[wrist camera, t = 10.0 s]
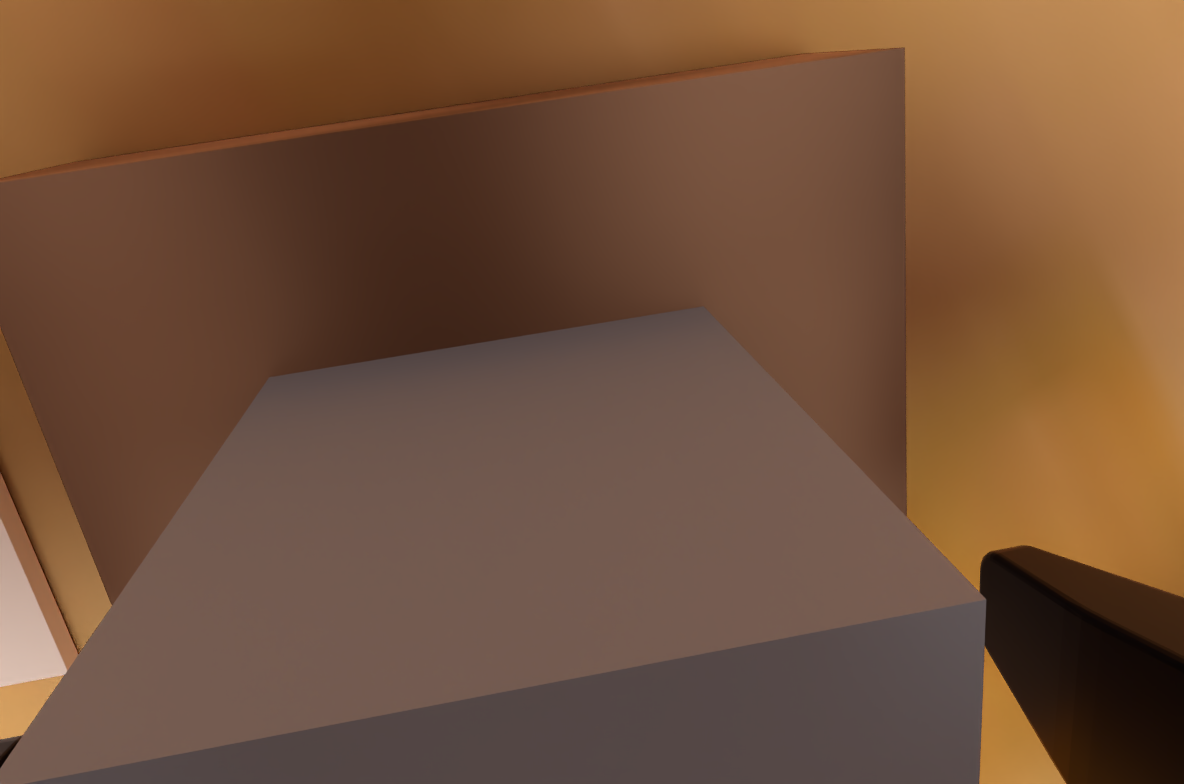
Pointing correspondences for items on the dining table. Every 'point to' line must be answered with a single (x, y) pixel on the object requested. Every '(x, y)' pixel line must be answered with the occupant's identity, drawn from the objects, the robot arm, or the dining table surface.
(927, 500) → the dining table surface
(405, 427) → the slate block
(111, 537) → the walnut base block
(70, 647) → the plaque
